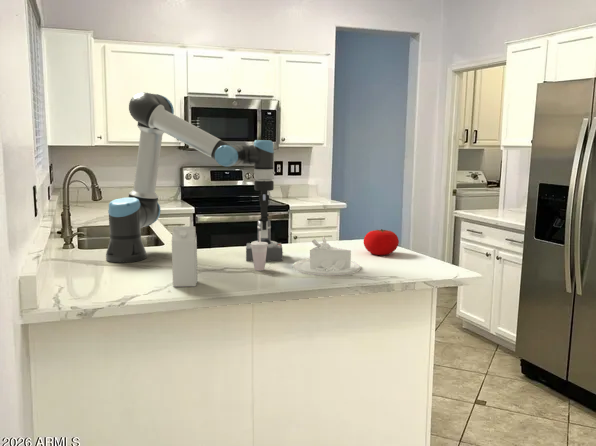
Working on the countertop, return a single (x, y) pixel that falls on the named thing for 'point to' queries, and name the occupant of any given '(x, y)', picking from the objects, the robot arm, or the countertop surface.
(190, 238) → the milk carton
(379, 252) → the tomato
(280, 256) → the camera body
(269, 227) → the lens
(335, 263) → the dish
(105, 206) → the countertop surface
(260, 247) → the smoothie
